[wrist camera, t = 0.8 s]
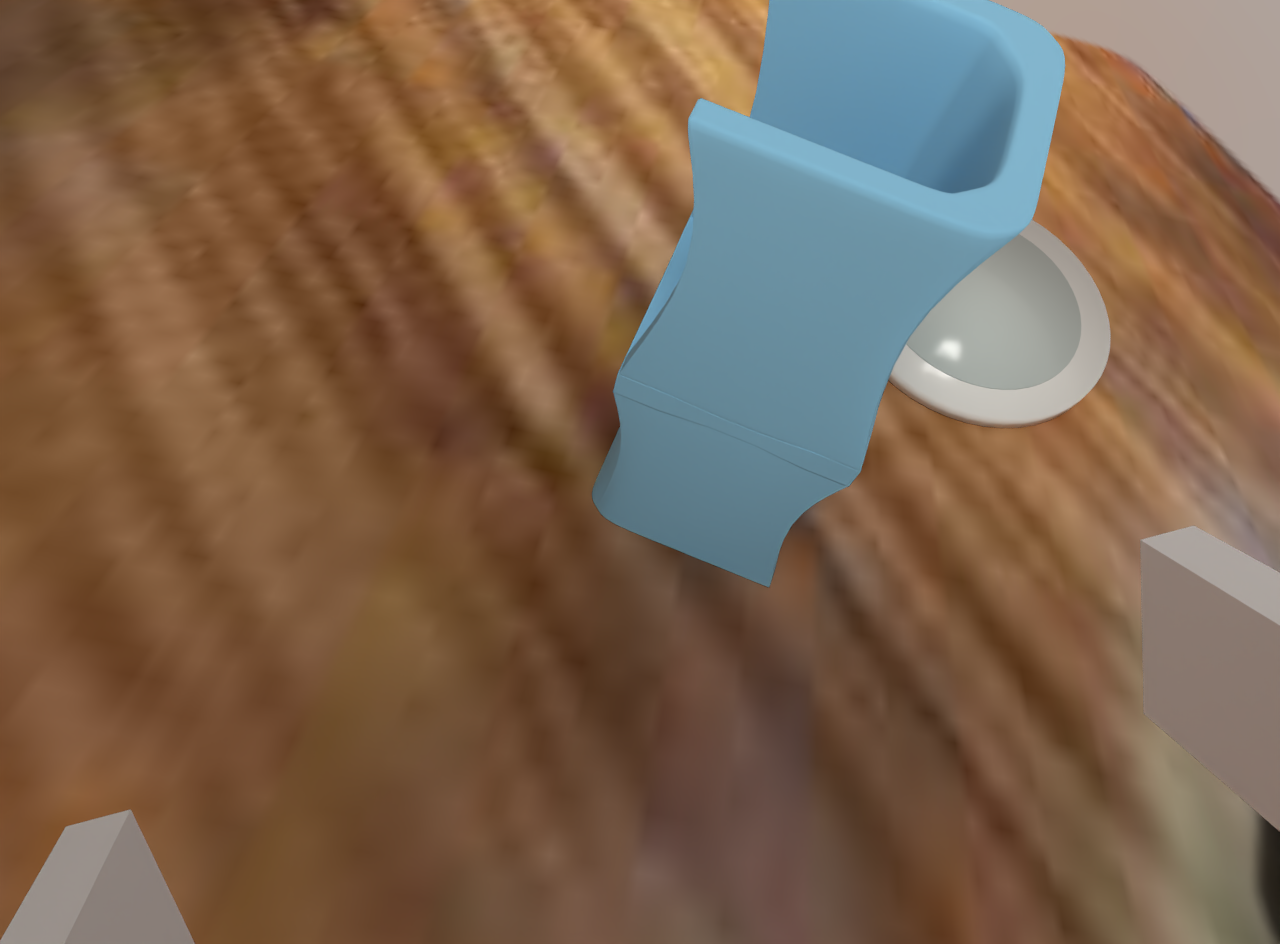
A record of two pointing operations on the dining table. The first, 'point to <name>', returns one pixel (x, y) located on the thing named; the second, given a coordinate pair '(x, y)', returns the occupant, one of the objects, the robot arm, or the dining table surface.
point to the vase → (820, 259)
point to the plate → (1010, 338)
